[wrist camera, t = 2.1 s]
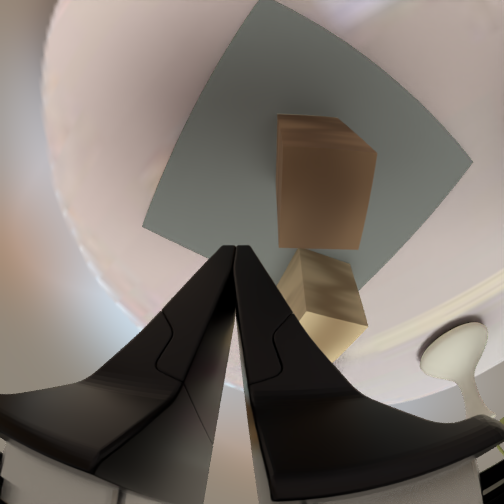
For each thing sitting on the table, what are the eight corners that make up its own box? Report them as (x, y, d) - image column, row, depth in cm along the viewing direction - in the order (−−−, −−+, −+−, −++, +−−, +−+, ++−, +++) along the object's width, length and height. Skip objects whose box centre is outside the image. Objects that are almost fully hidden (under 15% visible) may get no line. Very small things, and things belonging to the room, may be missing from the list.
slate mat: (469, 159, 18) (473, 162, 18) (332, 310, 29) (332, 314, 28) (262, -3, 13) (262, -5, 12) (144, 223, 24) (141, 226, 23)
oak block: (349, 263, 25) (368, 326, 19) (323, 301, 27) (332, 362, 22) (298, 246, 24) (306, 311, 18) (275, 288, 27) (275, 351, 21)
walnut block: (337, 117, 17) (377, 153, 11) (330, 184, 20) (358, 249, 14) (277, 113, 17) (283, 146, 11) (275, 181, 20) (278, 247, 14)
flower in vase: (455, 361, 36) (489, 495, 16) (403, 365, 36) (431, 523, 16) (501, 306, 29) (560, 459, 9) (451, 304, 28) (513, 498, 8)
